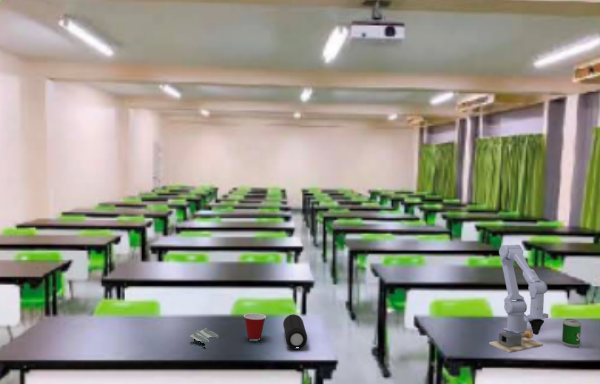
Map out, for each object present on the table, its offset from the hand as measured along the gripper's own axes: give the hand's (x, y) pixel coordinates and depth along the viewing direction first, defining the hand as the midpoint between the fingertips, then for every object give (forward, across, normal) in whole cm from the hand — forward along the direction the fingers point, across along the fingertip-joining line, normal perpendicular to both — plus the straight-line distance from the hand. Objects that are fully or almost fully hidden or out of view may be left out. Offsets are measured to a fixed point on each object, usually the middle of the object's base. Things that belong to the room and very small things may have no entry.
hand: (535, 334), depth 250 cm
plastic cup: (+4, -124, +55) cm, 136 cm away
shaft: (+1, -11, 0) cm, 11 cm away
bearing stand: (+3, -13, 0) cm, 14 cm away
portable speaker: (+4, -107, +46) cm, 117 cm away
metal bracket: (+4, -146, +62) cm, 158 cm away
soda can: (+4, +11, -11) cm, 16 cm away
